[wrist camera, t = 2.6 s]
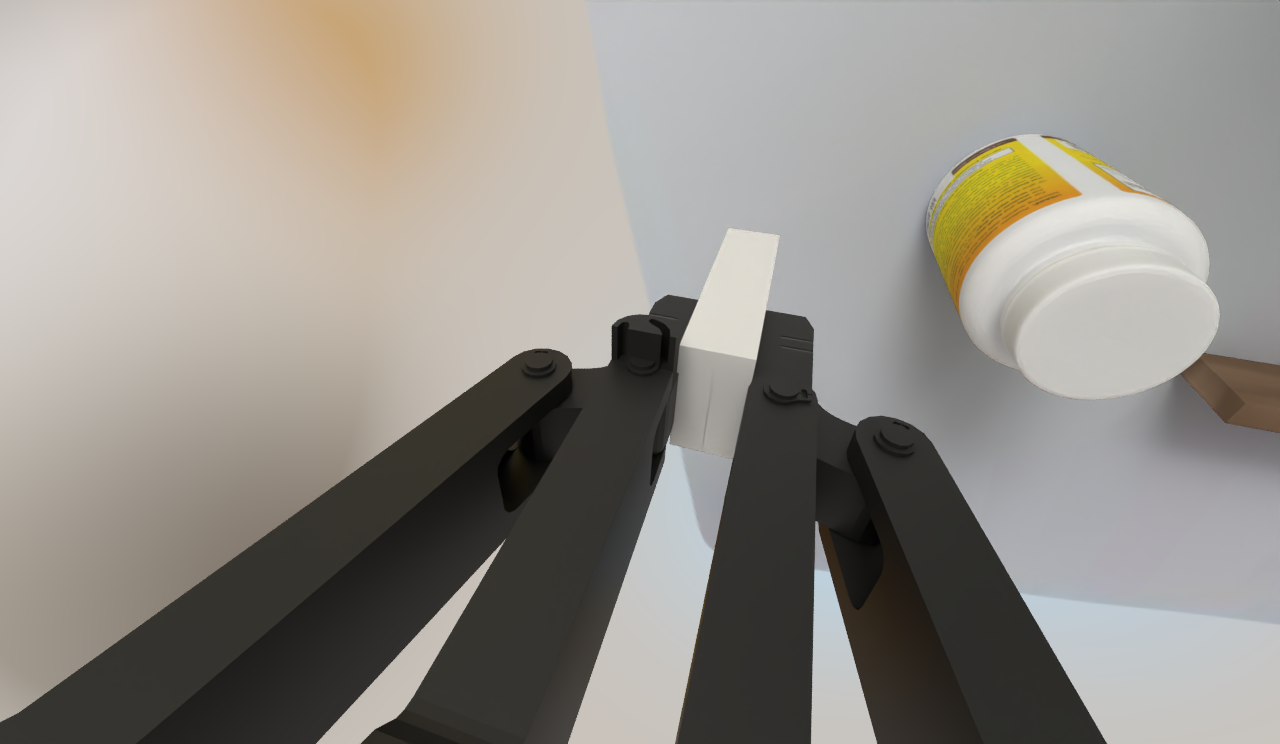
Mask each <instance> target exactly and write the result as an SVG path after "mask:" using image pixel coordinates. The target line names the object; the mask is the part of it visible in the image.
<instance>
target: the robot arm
mask: <svg viewBox="0 0 1280 744" xmlns="http://www.w3.org/2000/svg"><path fill="white" fill-rule="evenodd" d="M779 238H780V235H774V234H767V233H760V232H753V231H746V230H739V229H732V228H729V229H728V231H727V233H726V236H725V238H724V241H723V243H722V245H721V248H720V250H719V252H718V255H717V257H716V260H715V262H714V264H713V267H712V269H711V271H710V274H709V276H708V279H707V281H706V283H705V286H704V288H703V291H702V293H701V295H700V298H699V300H695V299H690V298H684V297H678V296H672V295H667V296H665V297H664V298H662V299H660V300H659V301H657V302H655V304H654V306H653V308H652V309H651V311H650V313H649V315H632V316H627V317H624V318H622V319H619V320H617V321H616V322H615V323H614V324H613V325H612V360H611V361H610V363H609V365H608V366H606V367H602V368H592V369H572V363H571V361H570V360H569V358H568V356H566V355H564V354H563V353H561V352H560V351H556V350H552V349H533V350H529V351H524V352H523V353H520V354H518V355H516V356H515V357H513V358H512V359H510V360H509V361H507V362H506V363H505V364H503V365H502V366H501V367H499V368H498V369H496V370H495V371H494V372H492V373H491V374H489V375H488V376H487V377H485V378H484V379H482V380H481V381H480V382H478V383H477V384H475V385H474V386H473V387H472V388H470V389H469V390H467V391H466V392H464V393H463V394H462V395H460V396H459V397H457V398H456V399H455V400H453V401H452V402H451V403H449V404H448V405H446V406H445V407H443V408H442V409H441V410H439V411H438V412H437V413H435V414H434V415H432V416H431V417H430V418H428V419H427V420H425V421H424V422H423V423H421V424H420V425H419V426H417V427H416V428H414V429H413V430H411V431H410V432H409V433H407V434H406V435H405V436H403V437H402V438H400V439H399V440H398V441H396V442H395V443H393V444H392V445H391V446H389V447H388V448H387V449H385V450H384V451H382V452H381V453H380V454H378V455H377V456H375V457H374V458H373V459H371V460H370V461H369V462H367V463H366V464H364V465H363V466H361V467H360V468H359V469H357V470H356V471H354V472H353V473H352V474H350V475H349V476H347V477H346V478H345V479H343V480H342V481H341V482H339V483H338V484H336V485H335V486H334V487H332V488H331V489H329V490H328V491H327V492H325V493H324V494H323V495H321V496H320V497H318V498H317V499H316V500H314V501H313V502H312V503H310V504H309V505H307V506H306V507H304V508H303V509H302V510H300V511H299V512H297V513H296V514H295V515H293V516H292V517H291V518H289V519H288V520H286V521H285V522H284V523H282V524H281V525H279V526H278V527H277V528H275V529H274V530H272V531H271V532H270V533H268V534H267V535H266V536H264V537H263V538H262V539H260V540H259V541H257V542H256V543H254V544H253V545H252V546H250V547H249V548H247V549H246V550H245V551H243V552H242V553H240V554H239V555H238V556H236V557H235V558H233V559H232V560H231V561H229V562H228V563H227V564H225V565H224V566H222V567H221V568H220V569H218V570H217V571H215V572H214V573H213V574H211V575H210V576H208V577H207V578H206V579H204V580H203V581H202V582H200V583H199V584H197V585H196V586H194V587H193V588H192V589H190V590H189V591H188V592H186V593H185V594H183V595H182V596H181V597H179V598H178V599H176V600H175V601H174V602H172V603H171V604H170V605H168V606H167V607H165V608H164V609H162V610H161V611H160V612H158V613H157V614H156V615H154V616H153V617H151V618H150V619H149V620H147V621H146V622H145V623H143V624H142V625H140V626H139V627H138V628H136V629H135V630H133V631H132V632H130V633H129V634H128V635H126V636H125V637H124V638H122V639H121V640H119V641H118V642H117V643H115V644H114V645H112V646H111V647H110V648H108V649H107V650H105V651H104V652H103V653H101V654H100V655H99V656H97V657H96V658H94V659H93V660H92V661H90V662H89V663H87V664H86V665H85V666H83V667H82V668H80V669H79V670H78V671H76V672H75V673H73V674H72V675H71V676H69V677H68V678H67V679H65V680H64V681H62V682H61V683H60V684H58V685H57V686H55V687H54V688H53V689H51V690H50V691H48V692H47V693H46V694H44V695H43V696H42V697H40V698H39V699H37V700H36V701H35V702H33V703H32V704H30V705H29V706H28V707H26V708H25V709H23V710H22V711H21V712H19V713H17V714H16V715H14V716H12V717H10V718H8V719H6V720H4V721H2V722H0V744H316V743H317V742H318V741H319V740H320V739H321V737H322V736H323V735H324V734H325V733H326V732H327V731H328V730H329V729H330V728H331V727H332V726H333V724H334V723H335V722H336V721H337V720H338V719H339V718H340V717H341V716H342V715H343V714H344V713H345V712H346V711H347V709H348V708H349V707H350V706H351V705H352V704H353V703H354V702H355V701H356V700H357V699H358V697H360V695H361V694H362V693H363V692H364V691H365V690H366V689H367V688H368V687H369V686H370V685H371V684H372V683H373V681H374V680H375V679H376V678H377V677H378V676H379V675H380V674H381V673H382V672H383V671H384V670H385V669H386V667H387V666H388V665H389V664H390V663H391V662H392V661H393V660H394V659H395V658H396V657H397V655H399V653H400V652H401V651H402V650H403V649H404V648H405V647H406V646H407V645H408V644H409V643H410V642H411V641H412V639H413V638H414V637H415V636H416V635H417V634H418V633H419V632H420V631H421V629H423V628H424V627H425V625H426V624H427V623H428V622H429V621H430V620H431V619H432V618H433V617H434V616H435V615H436V614H437V612H438V611H439V610H440V609H441V608H442V607H443V606H444V605H445V604H446V603H447V602H448V601H449V600H450V598H451V597H452V596H453V595H454V594H455V593H456V592H457V591H458V590H459V589H460V588H461V587H462V586H463V584H464V583H465V582H466V581H467V580H468V579H469V578H470V577H471V576H472V575H473V574H474V572H476V570H477V569H478V568H479V567H480V566H481V565H482V564H483V563H484V562H485V560H487V559H488V557H489V556H490V555H491V554H492V553H493V552H494V551H495V550H496V549H497V548H498V547H499V545H501V544H502V542H503V541H504V540H505V539H506V540H505V542H504V543H503V545H502V547H501V549H500V550H499V552H498V554H497V555H496V557H495V559H494V560H493V562H492V564H491V565H490V567H489V569H488V571H487V572H486V574H485V576H484V577H483V579H482V581H481V582H480V584H479V586H478V588H477V589H476V591H475V593H474V594H473V596H472V598H471V599H470V601H469V603H468V605H467V606H466V608H465V610H464V611H463V613H462V615H461V617H460V618H459V620H458V622H457V623H456V625H455V627H454V628H453V630H452V632H451V634H450V635H449V637H448V639H447V640H446V642H445V644H444V646H443V647H442V649H441V651H440V652H439V654H438V656H437V657H436V659H435V661H434V662H433V664H432V666H431V668H430V669H429V671H428V673H427V675H426V676H425V678H424V680H423V681H422V683H421V685H420V686H419V688H418V690H417V691H416V693H415V695H414V697H413V698H412V699H411V701H410V702H409V704H408V705H407V707H406V708H405V710H404V711H403V712H402V713H401V714H400V715H399V716H398V717H397V718H396V719H394V720H392V721H390V722H388V723H386V724H384V725H382V726H381V727H379V728H377V729H375V730H374V731H373V732H372V733H371V734H370V735H369V736H368V737H367V738H366V739H365V740H364V741H363V742H362V743H361V744H568V741H569V738H570V735H571V732H572V729H573V726H574V723H575V721H576V718H577V715H578V712H579V709H580V706H581V703H582V700H583V697H584V694H585V691H586V688H587V685H588V683H589V680H590V677H591V674H592V671H593V668H594V665H595V662H596V659H597V656H598V653H599V650H600V648H601V645H602V642H603V639H604V636H605V633H606V630H607V627H608V624H609V621H610V618H611V615H612V612H613V609H614V607H615V604H616V601H617V598H618V595H619V592H620V589H621V586H622V583H623V580H624V577H625V575H626V572H627V569H628V566H629V563H630V560H631V557H632V554H633V551H634V548H635V545H636V543H637V540H638V537H639V534H640V531H641V528H642V525H643V522H644V519H645V516H646V513H647V510H648V507H649V505H650V502H651V499H652V496H653V493H654V490H655V487H656V484H657V481H658V478H659V475H660V473H661V469H662V467H663V464H664V460H665V450H666V444H667V441H668V438H669V435H670V444H672V445H677V446H680V447H684V448H689V449H693V450H697V451H701V452H706V453H710V454H714V455H718V456H723V457H727V458H731V459H733V462H732V467H731V471H730V476H729V481H728V485H727V490H726V494H725V499H724V505H723V510H722V515H721V520H720V525H719V530H718V535H717V540H716V545H715V550H714V555H713V560H712V565H711V569H710V575H709V580H708V584H707V590H706V594H705V599H704V604H703V609H702V614H701V619H700V624H699V629H698V634H697V639H696V644H695V648H694V653H693V659H692V663H691V668H690V673H689V678H688V683H687V688H686V693H685V698H684V703H683V708H682V712H681V717H680V722H679V727H678V732H677V737H676V742H675V744H811V709H812V661H813V611H814V608H813V607H814V561H815V521H817V522H818V525H819V533H820V537H821V540H822V544H823V548H824V551H825V555H826V558H827V562H828V566H829V569H830V573H831V577H832V580H833V584H834V587H835V591H836V595H837V598H838V602H839V606H840V609H841V613H842V616H843V620H844V624H845V627H846V631H847V635H848V639H849V642H850V646H851V649H852V653H853V656H854V660H855V664H856V668H857V671H858V675H859V679H860V682H861V686H862V689H863V693H864V697H865V700H866V704H867V708H868V711H869V715H870V718H871V722H872V726H873V729H874V733H875V737H876V740H877V744H1107V743H1106V741H1105V740H1104V738H1103V736H1102V734H1101V733H1100V731H1099V729H1098V728H1097V726H1096V724H1095V722H1094V721H1093V719H1092V717H1091V716H1090V714H1089V712H1088V710H1087V709H1086V707H1085V705H1084V703H1083V702H1082V700H1081V698H1080V697H1079V695H1078V693H1077V691H1076V690H1075V688H1074V686H1073V685H1072V683H1071V681H1070V679H1069V678H1068V676H1067V675H1066V673H1065V671H1064V669H1063V667H1062V666H1061V664H1060V662H1059V661H1058V659H1057V657H1056V655H1055V654H1054V652H1053V650H1052V648H1051V647H1050V645H1049V643H1048V642H1047V640H1046V638H1045V637H1044V635H1043V633H1042V631H1041V629H1040V628H1039V626H1038V624H1037V623H1036V621H1035V619H1034V618H1033V616H1032V614H1031V612H1030V611H1029V609H1028V607H1027V605H1026V604H1025V602H1024V600H1023V598H1022V597H1021V595H1020V593H1019V592H1018V590H1017V588H1016V586H1015V585H1014V583H1013V581H1012V580H1011V578H1010V576H1009V574H1008V573H1007V571H1006V569H1005V567H1004V566H1003V564H1002V562H1001V561H1000V559H999V557H998V555H997V554H996V552H995V550H994V549H993V547H992V545H991V543H990V542H989V540H988V538H987V537H986V535H985V533H984V531H983V530H982V528H981V526H980V524H979V523H978V521H977V519H976V518H975V516H974V514H973V512H972V511H971V509H970V507H969V506H968V504H967V502H966V500H965V499H964V497H963V495H962V493H961V492H960V490H959V488H958V487H957V485H956V483H955V481H954V480H953V478H952V476H951V475H950V473H949V471H948V469H947V468H946V466H945V464H944V463H943V461H942V459H941V457H940V456H939V454H938V452H937V450H936V449H935V447H934V445H933V444H932V442H931V441H930V440H929V439H928V438H927V437H926V435H925V434H924V433H923V432H921V431H920V430H918V429H917V428H915V427H914V426H912V425H911V424H908V423H906V422H904V421H901V420H899V419H896V418H890V417H885V416H875V417H868V418H866V419H864V420H862V421H860V422H859V424H858V425H857V426H854V425H852V424H850V423H847V422H845V421H843V420H841V419H839V418H837V417H835V416H833V415H831V414H830V413H828V412H827V411H825V410H824V409H823V408H822V407H821V406H820V405H819V404H818V400H817V397H816V394H815V392H814V391H813V390H812V371H813V338H814V329H813V327H812V326H811V324H810V323H809V321H808V320H807V319H806V317H802V316H796V315H791V314H785V313H779V312H773V311H767V310H766V307H767V301H768V296H769V291H770V285H771V280H772V275H773V269H774V264H775V259H776V254H777V248H778V243H779ZM670 432H671V434H670Z"/></svg>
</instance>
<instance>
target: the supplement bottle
mask: <svg viewBox="0 0 1280 744" xmlns="http://www.w3.org/2000/svg"><path fill="white" fill-rule="evenodd" d="M926 231H927V236H928V240H929V243H930V245H931V248H932V251H933V253H934V255H935V258H936V260H937V263H938V265H939V268H940V270H941V273H942V275H943V277H944V280H945V282H946V285H947V287H948V290H949V292H950V295H951V297H952V299H953V302H954V304H955V307H956V309H957V311H958V314H959V316H960V319H961V321H962V323H963V326H964V328H965V330H966V332H967V333H968V335H969V337H970V339H971V340H972V341H973V343H974V344H975V345H976V346H977V347H978V348H979V349H980V350H981V351H982V352H983V353H985V354H986V355H987V356H989V357H990V358H992V359H993V360H995V361H997V362H999V363H1001V364H1003V365H1006V366H1008V367H1011V368H1014V369H1017V370H1020V372H1021V373H1022V374H1023V376H1024V377H1025V378H1026V379H1027V380H1028V381H1030V382H1031V383H1032V384H1034V385H1035V386H1037V387H1038V388H1040V389H1042V390H1044V391H1046V392H1048V393H1051V394H1054V395H1057V396H1061V397H1066V398H1071V399H1080V400H1101V399H1111V398H1118V397H1123V396H1128V395H1132V394H1135V393H1139V392H1142V391H1145V390H1148V389H1150V388H1153V387H1155V386H1157V385H1160V384H1162V383H1164V382H1166V381H1168V380H1170V379H1172V378H1174V377H1175V376H1177V375H1178V374H1180V373H1181V372H1183V371H1184V370H1185V369H1187V368H1188V367H1189V366H1191V365H1192V364H1193V363H1194V362H1195V361H1196V360H1198V359H1199V357H1200V356H1201V355H1202V354H1203V353H1204V352H1205V351H1206V349H1207V348H1208V347H1209V345H1210V344H1211V342H1212V340H1213V338H1214V336H1215V334H1216V332H1217V329H1218V325H1219V319H1220V310H1219V305H1218V302H1217V299H1216V297H1215V295H1214V294H1213V292H1212V290H1211V289H1210V288H1209V286H1208V285H1207V284H1206V282H1207V278H1208V274H1209V268H1210V259H1209V252H1208V247H1207V244H1206V241H1205V238H1204V237H1203V235H1202V233H1201V231H1200V230H1199V228H1198V227H1197V226H1196V224H1195V223H1194V222H1193V221H1192V220H1191V219H1190V218H1188V217H1187V216H1186V215H1185V214H1184V213H1182V212H1181V211H1180V210H1179V209H1177V208H1176V207H1174V206H1173V205H1171V204H1170V203H1168V202H1166V201H1165V200H1163V199H1161V198H1160V197H1158V196H1157V195H1155V194H1153V193H1152V192H1150V191H1149V190H1147V189H1145V188H1144V187H1142V186H1141V185H1139V184H1137V183H1136V182H1134V181H1133V180H1131V179H1130V178H1128V177H1126V176H1125V175H1123V174H1121V173H1120V172H1118V171H1117V170H1115V169H1113V168H1112V167H1110V166H1109V165H1107V164H1105V163H1104V162H1102V161H1101V160H1099V159H1097V158H1096V157H1094V156H1092V155H1091V154H1089V153H1088V152H1086V151H1084V150H1082V149H1081V148H1079V147H1077V146H1076V145H1074V144H1072V143H1070V142H1068V141H1066V140H1063V139H1061V138H1057V137H1053V136H1048V135H1040V134H1026V135H1018V136H1012V137H1008V138H1004V139H1001V140H998V141H995V142H992V143H990V144H988V145H985V146H983V147H981V148H979V149H977V150H976V151H974V152H972V153H971V154H969V155H968V156H966V157H965V158H964V159H962V160H961V161H960V162H958V163H957V164H956V165H955V166H954V167H953V168H952V169H951V170H950V171H949V172H948V173H947V174H946V175H945V177H944V178H943V179H942V180H941V182H940V183H939V185H938V186H937V188H936V190H935V192H934V193H933V196H932V198H931V200H930V203H929V206H928V210H927V216H926Z"/></svg>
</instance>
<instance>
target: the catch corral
mask: <svg viewBox="0 0 1280 744" xmlns="http://www.w3.org/2000/svg"><path fill="white" fill-rule="evenodd" d="M1180 374H1181V375H1182V376H1183V377H1184V378H1185V379H1186V380H1187V381H1188V382H1189V384H1190V385H1191V386H1192V387H1193V388H1194V389H1195V390H1196V391H1197V392H1198V393H1199V394H1200V396H1201V397H1202V398H1203V399H1204V400H1205V401H1206V402H1207V403H1208V404H1209V405H1210V407H1211V408H1212V409H1213V410H1214V411H1215V412H1216V413H1217V414H1218V415H1219V416H1220V417H1221V419H1222V420H1223V421H1224V422H1225V423H1229V424H1234V425H1240V426H1245V427H1250V428H1256V429H1261V430H1266V431H1272V432H1277V433H1280V366H1279V365H1272V364H1266V363H1260V362H1254V361H1248V360H1242V359H1236V358H1230V357H1223V356H1217V355H1211V354H1205V353H1203V354H1202V355H1201V356H1200V357H1199V359H1198V360H1196V361H1195V362H1194V363H1193V364H1192V365H1191V366H1189V367H1188V368H1187V369H1185V370H1184V371H1183V372H1181V373H1180Z"/></svg>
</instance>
